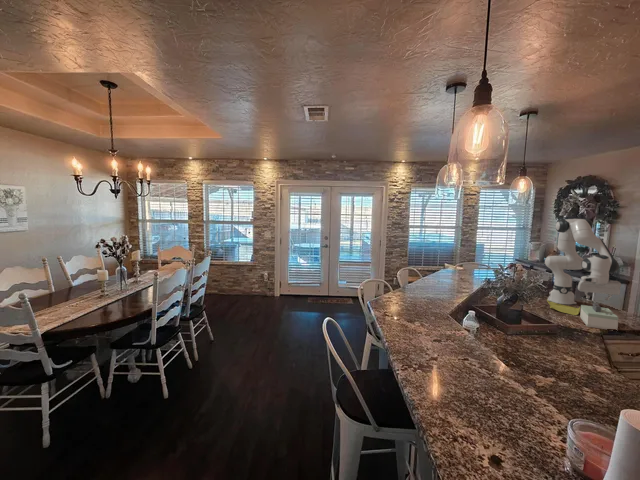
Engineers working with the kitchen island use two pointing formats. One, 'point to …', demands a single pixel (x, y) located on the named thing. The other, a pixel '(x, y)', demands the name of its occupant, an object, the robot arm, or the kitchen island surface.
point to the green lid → (599, 312)
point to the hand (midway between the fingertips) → (597, 299)
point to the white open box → (598, 321)
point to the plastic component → (564, 308)
